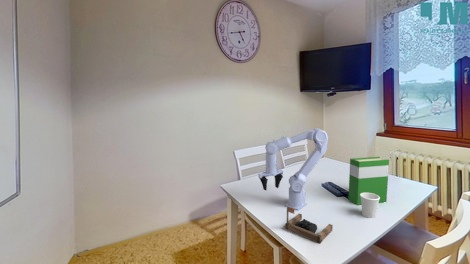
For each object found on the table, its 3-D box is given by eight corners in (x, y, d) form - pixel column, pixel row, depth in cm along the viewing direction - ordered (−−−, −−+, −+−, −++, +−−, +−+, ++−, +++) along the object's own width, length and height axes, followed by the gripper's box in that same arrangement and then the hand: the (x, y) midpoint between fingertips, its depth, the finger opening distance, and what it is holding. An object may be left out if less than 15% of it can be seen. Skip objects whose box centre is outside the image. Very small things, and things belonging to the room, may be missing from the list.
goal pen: (298, 218, 111) (299, 197, 110) (332, 230, 100) (333, 207, 99) (285, 228, 102) (285, 206, 101) (320, 243, 91) (320, 218, 90)
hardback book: (376, 197, 133) (378, 156, 130) (386, 202, 126) (389, 159, 123) (348, 199, 130) (350, 158, 127) (357, 205, 123) (359, 162, 120)
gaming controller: (292, 226, 103) (298, 214, 105) (297, 231, 106) (303, 219, 108) (311, 235, 95) (317, 222, 97) (316, 240, 98) (322, 228, 100)
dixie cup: (381, 220, 108) (383, 199, 106) (362, 218, 109) (363, 198, 108) (374, 211, 116) (375, 192, 114) (356, 210, 117) (357, 191, 116)
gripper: (263, 168, 116) (263, 193, 118) (286, 164, 122) (286, 188, 124) (256, 164, 123) (256, 188, 125) (279, 161, 129) (278, 184, 130)
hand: (270, 188), depth 125 cm, fingers open, 7 cm apart
